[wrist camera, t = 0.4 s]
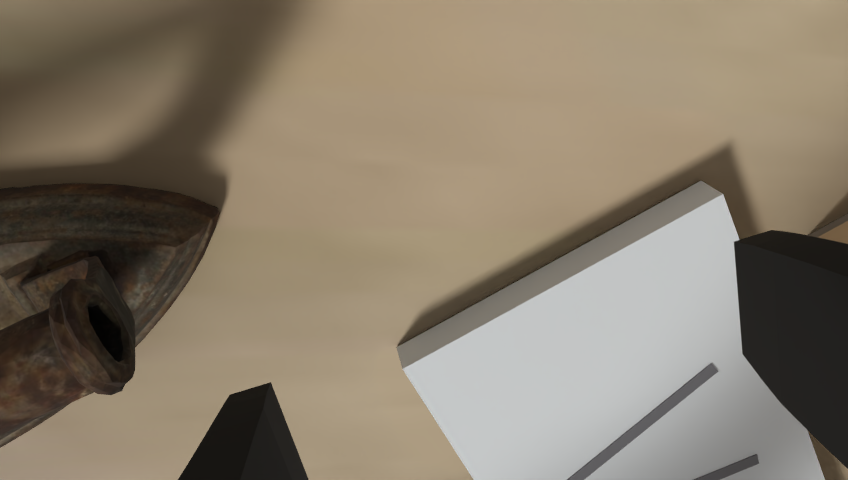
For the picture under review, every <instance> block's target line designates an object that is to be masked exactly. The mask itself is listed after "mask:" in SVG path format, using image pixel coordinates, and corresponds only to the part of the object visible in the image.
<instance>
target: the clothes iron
mask: <svg viewBox="0 0 848 480" xmlns="http://www.w3.org/2000/svg"><path fill="white" fill-rule="evenodd" d="M218 217H219V210H218V209H217V207H214V206H210V205H208V204H206V203H204V202H201V201H199V200H197V199H194V198H192V197H188V196H185V195H182V194H178V193H173V192H167V191H162V190H155V189H146V188H139V187H133V186H126V185H113V184H53V185H39V186H31V187H24V188H14V187H12V188H5V189H0V447H2V446H4V445H6V444H7V443H9V442H11V441H12V440H14V439H16V438H17V437H19V436H21V435H23V434H24V433H26V432H27V431H29V430H31V429H32V428H34V427H36V426H37V425H39V424H40V423H42V422H43V421H45V420H46V419H48V418H49V417H51V416H52V415H54V414H55V413H57V412H58V411H60V410H61V409H63V408H64V407H66V406H67V405H68V404H70V403H71V402H73V401H76V400H78V399H80V398H82V397H84V396H87V395H89V394H91V393H93V392H95V393H97V394H106V395H113V394H115V393H117V392H120V391H122V389H123V387H124V385H125V384H126V383H127V382H128V381H129V380H130V379H131V378H132V377H133V374H134V371H135V347H136V346H137V345H138V344H139V343H140V342H141V341H142V340H143V339H144V338H145V336H146V335H147V334H148V333H149V332H150V331H151V329H152V328H153V327H154V326H155V325H156V324H157V322H158V321H159V320H160V319H161V318H162V317H163V315H164V314H165V313H166V312H167V310H168V309H169V308H170V307H171V305H172V304H173V303H174V301H175V300H176V299H177V297H178V296H179V294H180V293H181V291H182V290H183V289H184V287H185V286H186V284H187V283H188V281H189V280H190V278H191V276H192V275H193V273H194V271H195V270H196V267H197V266H198V264H199V262H200V261H201V259H202V257H203V255H204V253H205V251H206V248H207V246H208V244H209V241H210V239H211V236H212V234H213V232H214V230H215V227H216V223H217V220H218Z"/></svg>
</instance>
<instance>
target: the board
mask: <svg viewBox="0 0 848 480" xmlns="http://www.w3.org/2000/svg"><path fill="white" fill-rule="evenodd" d="M738 240H739V237H738V234H737V231H736V229H735V226H734V223H733V220H732V217H731V215H730V212H729V209H728V206H727V203H726V201H725V198H724V195H723V194H722V193H721V192H719V191H717V190H716V189H714V188H713V187H711V186H709V185H708V184H706V183H704V182H703V181H699V182H697V183H696V184H694V185H692V186H690V187H688V188H686V189H685V190H683V191H681V192H679V193H677V194H675V195H674V196H672V197H670V198H668V199H666V200H665V201H663V202H661V203H659V204H657V205H655V206H654V207H652V208H650V209H648V210H646V211H644V212H643V213H641V214H639V215H637V216H635V217H633V218H632V219H630V220H628V221H626V222H624V223H623V224H621V225H619V226H617V227H615V228H613V229H612V230H610V231H608V232H606V233H604V234H602V235H601V236H599V237H597V238H595V239H593V240H591V241H590V242H588V243H586V244H584V245H582V246H580V247H579V248H577V249H575V250H573V251H571V252H570V253H568V254H566V255H564V256H562V257H560V258H559V259H557V260H555V261H553V262H551V263H549V264H548V265H546V266H544V267H542V268H540V269H538V270H537V271H535V272H533V273H531V274H529V275H528V276H526V277H524V278H522V279H520V280H518V281H517V282H515V283H513V284H511V285H509V286H507V287H506V288H504V289H502V290H500V291H498V292H496V293H495V294H493V295H491V296H489V297H487V298H485V299H484V300H482V301H480V302H478V303H476V304H475V305H473V306H471V307H469V308H467V309H465V310H464V311H462V312H460V313H458V314H456V315H454V316H453V317H451V318H449V319H447V320H445V321H443V322H442V323H440V324H438V325H436V326H434V327H433V328H431V329H429V330H427V331H425V332H423V333H422V334H420V335H418V336H416V337H414V338H412V339H411V340H409V341H407V342H405V343H403V344H401V345H400V346H398V347H397V351H398V354H399V358H400V361H401V365H402V369H403V370H404V372H405V373H406V375H407V377H408V378H409V380H410V381H411V383H412V384H413V386H414V387H415V389H416V391H417V392H418V394H419V395H420V397H421V398H422V400H423V402H424V403H425V405H426V406H427V408H428V409H429V411H430V412H431V414H432V416H433V417H434V419H435V420H436V422H437V423H438V425H439V426H440V428H441V430H442V431H443V433H444V434H445V436H446V437H447V439H448V440H449V442H450V444H451V445H452V447H453V448H454V450H455V451H456V453H457V454H458V456H459V458H460V459H461V461H462V462H463V464H464V465H465V467H466V469H467V470H468V472H469V473H470V475H471V476H472V478H473V479H474V480H825V478H824V475H823V473H822V470H821V467H820V464H819V461H818V459H817V456H816V453H815V450H814V447H813V445H812V442H811V439H810V436H809V433H808V430H807V429H806V428H805V427H804V426H803V425H802V424H801V423H800V422H799V421H798V420H797V419H796V418H795V417H794V416H793V415H792V414H791V413H790V412H789V411H788V410H787V409H786V408H785V407H784V406H783V405H782V404H781V403H780V402H779V400H778V399H777V398H776V397H775V396H774V394H773V393H772V392H771V391H770V389H769V388H768V387H767V386H766V384H765V383H764V382H763V381H762V379H761V378H760V377H759V375H758V374H757V373H756V371H755V370H754V369H753V367H752V366H751V365H750V363H749V362H748V361H747V359H746V358H745V357H744V355H743V354H742V341H741V328H740V315H739V303H738V290H737V277H736V264H735V251H734V241H738Z"/></svg>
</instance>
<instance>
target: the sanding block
mask: <svg viewBox="0 0 848 480" xmlns="http://www.w3.org/2000/svg"><path fill="white" fill-rule="evenodd" d="M808 236H813V237H818V238H823V239H828V240H832V241H837V242H842V243H846V244H848V214H846V215H844V216H843V217H841V218H839V219H837V220H835V221H833V222H832V223H830V224H828V225H826V226H824V227H822V228H820V229H819V230H817V231H815V232H813V233H811V234H809V235H808Z"/></svg>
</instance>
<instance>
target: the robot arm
mask: <svg viewBox="0 0 848 480" xmlns="http://www.w3.org/2000/svg"><path fill="white" fill-rule="evenodd" d="M734 251H735V264H736V277H737V290H738V303H739V315H740V328H741V341H742V354H743V355H744V357H745V358H746V359H747V361H748V362H749V363H750V365H751V366H752V367H753V369H754V370H755V371H756V373H757V374H758V375H759V377H760V378H761V379H762V381H763V382H764V383H765V384H766V386H767V387H768V388H769V389H770V391H771V392H772V393H773V394H774V396H775V397H776V398H777V399H778V400H779V402H780V403H781V404H782V405H783V406H784V407H785V408H786V409H787V410H788V411H789V412H790V413H791V414H792V415H793V416H794V417H795V418H796V419H797V420H798V421H799V422H800V423H801V424H802V425H803V426H804V427H805V428H806V429H807V430H808V431H809V432H810V433H811V434H812V435H813V436H814V437H815V438H816V439H817V440H818V441H819V442H820V443H821V444H823V445H824V446H825V447H826V448H827V449H828V450H829V451H830V452H831V453H832V454H833V455H834V456H835V457H836V458H837V459H838V460H839V461H840V462H841V463H842V464H843V465H844V466H846V467H847V468H848V244H846V243H842V242H837V241H832V240H828V239H823V238H818V237H813V236H808V235H802V234H797V233H790V232H783V231H774V230H771V231H767V232H764V233H761V234H757V235H754V236H751V237H748V238H744V239H741V240H738V241H734ZM178 480H308V477H307V475H306V472H305V469H304V467H303V464H302V462H301V459H300V457H299V454H298V451H297V449H296V446H295V444H294V441H293V439H292V436H291V433H290V431H289V428H288V426H287V423H286V421H285V418H284V415H283V413H282V410H281V408H280V405H279V403H278V400H277V397H276V395H275V392H274V390H273V387H272V384H271V382H270V383H267V384H264V385H260V386H257V387H254V388H251V389H247V390H244V391H241V392H237V393H234V394H231V395H229V397H228V399H227V400H226V402H225V403H224V405H223V407H222V408H221V410H220V412H219V413H218V415H217V417H216V418H215V420H214V422H213V423H212V425H211V426H210V428H209V430H208V432H207V433H206V435H205V437H204V438H203V440H202V442H201V443H200V445H199V447H198V448H197V450H196V452H195V453H194V455H193V457H192V458H191V460H190V461H189V463H188V465H187V466H186V468H185V469H184V471H183V473H182V474H181V476H180V477H179V479H178Z"/></svg>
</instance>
